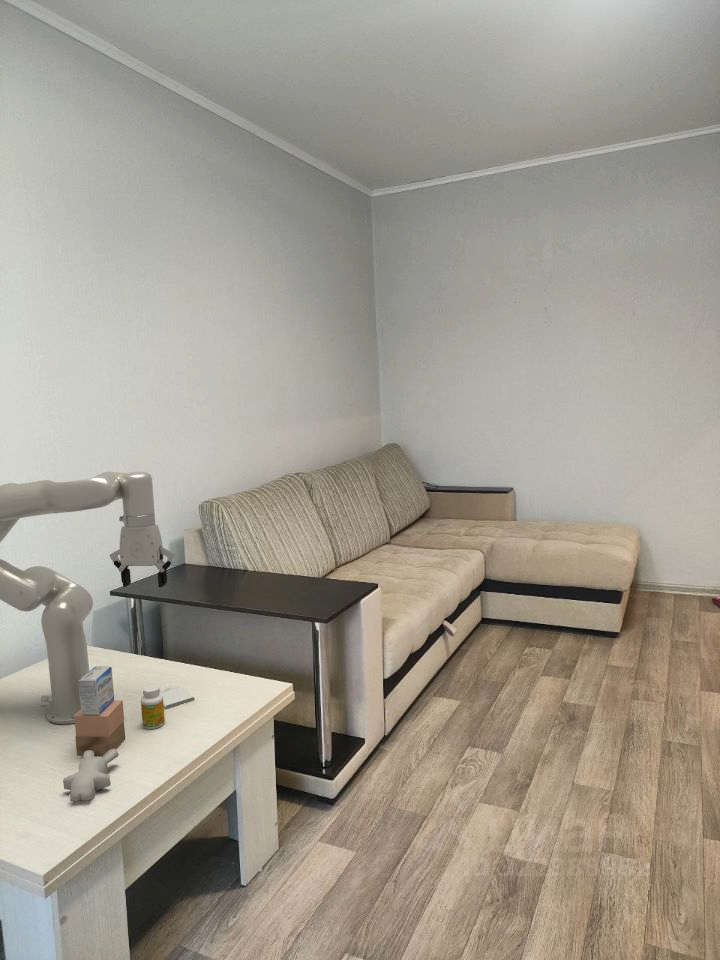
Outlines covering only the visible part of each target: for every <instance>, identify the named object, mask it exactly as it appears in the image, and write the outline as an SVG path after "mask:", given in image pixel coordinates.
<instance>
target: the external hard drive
mask: <svg viewBox="0 0 720 960" xmlns="http://www.w3.org/2000/svg"><path fill="white" fill-rule="evenodd" d="M159 688H160V694H162V696H163V704H164V710H169V709H172V708H175V707H178V706H180V705H181V704H182V705H185V704H188V703H190V702H191V703H192V702H193V701H196V700H195V699H196V698H195V696H194V695H192V694H191V693H190V692H189V691H188V690H186V689H185V688H184V687H182V686H181V685H180V684H178V683H177V682H172V683H168V684H165V685H162V686H159ZM184 703H185V704H184ZM182 705H181V706H182Z"/></svg>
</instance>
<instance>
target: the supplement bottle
mask: <svg viewBox="0 0 720 960" xmlns="http://www.w3.org/2000/svg"><path fill="white" fill-rule="evenodd" d="M159 687H160V685H159V684H148V685H145V686H144V687H143V688H142V694H143V696H142V697H141V698H140V708H141V709H140V710H141V721H142V722H141V723H142V727H143V728H144V729H147V730H155V729H159V728H161V727H163V725H165V722H166V720H165V719H166V718H165V708H164V704H163V696H162V694H160V688H159Z"/></svg>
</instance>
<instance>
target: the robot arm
mask: <svg viewBox="0 0 720 960" xmlns="http://www.w3.org/2000/svg"><path fill="white" fill-rule="evenodd" d="M117 500H122V510H123V511H122V512H123V515H121V516H119V522H123V525H124V526H123V525H122V526H121V529H120V534H119V549H117V550H115V551H113V552H112V553H111V554H109V558H110V559H111V561H112V562H113V565H114V566H115V568H117V569H118V571H119V573H120V578H121V580H120V581H121V584H122V587H123V588H127V586H129V585H131V584H132V578H131V577H132V576H131V570H130V568H129V567H156V569H157V570H158V572H157V581H158V583H157V584H158V587H159V588H163V587H164V586H165V585H167V583H168V574H167V573H168V572H167V570H168V569H169V568H170V567H171V565H172V564H173V562H174V560H175V557H176V553H174V552H172V551H170V550H168V549H166V548H164V546H163V541H162V534H161V531H160V528H159V525H158V524H157V523H156V516H155V515H156V513H155V501H154V487H153V477H152V474H150V473H149V472H147V471H132V472H117V471H116V472H115V471H106V472H101V473H99V474H97V475H95V476H93V477H90V478H84V479H77V480H71V481H61V482H60V481H59V482H58V481H53V480H50V479H43V480H42V479H41V480H37V481H32V482H25V483H14V482H10V483H4V484H1V485H0V543H1V542H2V541H3V540H4V539H5V538H6V537H7V535H8V534H9V533H10V532H11V530H12V529H13V528H14V526H15V525H16V524H17V523H18V522H19V520H20V519H23V518H28V517H29V518H30V517H36V516H43V515H50V514H51V515H52V514H62V513H73V512H74V513H75V512H81V511H87V510H94V509H99V508H100V509H101V508H103V507H107V506H109V505H110V504H111V503H113V502H115V501H117ZM164 556H165V557H167V560H166V562H165V561H164ZM0 601H2V602H4V603H6V604H7V605H9V606H10V607H12V608H14V609H16V610H19V611H21V612H32V611H34V610H36V609H37V608H39V607H40V606H41V605H43V606H45V607H44V609H43V611H42V614H41V618H40V619H41V628H42V632H43V636H44V640H45V646H46V654H47V662H48V672H49V674H48V675H49V683H50V684H49V685H50V694H51V695H42V696H41V697H40V702H39V707H40V708H41V707H43V708H48V711H47V713H46V718H47V721H48V722H49V723H53V724H54V725H55V724H56V725H70V724H75V720H74V715H75V714H77V713H78V712H79V711H80V710H81V703H80V693H79V683H78V681H79V680H80V679H81V678H82V677H83V676H84V675H86V674H87V673H88V672H89V671H90V664H89V654H88V653H89V652H88V643H87V639H86V634H85V629H84V621H85V620H86V618H87V617H88V616H89V614H90V613H91V612H92V609H93V606H94V605H93V604H94V600H93V597H92V595H91V593H90V592H89V591H88V590H87V589H86V588H84V587H83V586H81V585H80V584H78V583H76V582H75V581H73V580H71V579H70V578H67V577H66V576H64V575H62V574H60V573H59V572H57V571H56V570H53V569H52V568H49V567H46V566H42V565H36V566H34V565H33V566H31V567H28V568H26V569H24V570H22V569H19V568H18V567H16V566H14V565H12V564H11V563H9V562H8V561H6V560H4V559H1V558H0Z"/></svg>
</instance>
